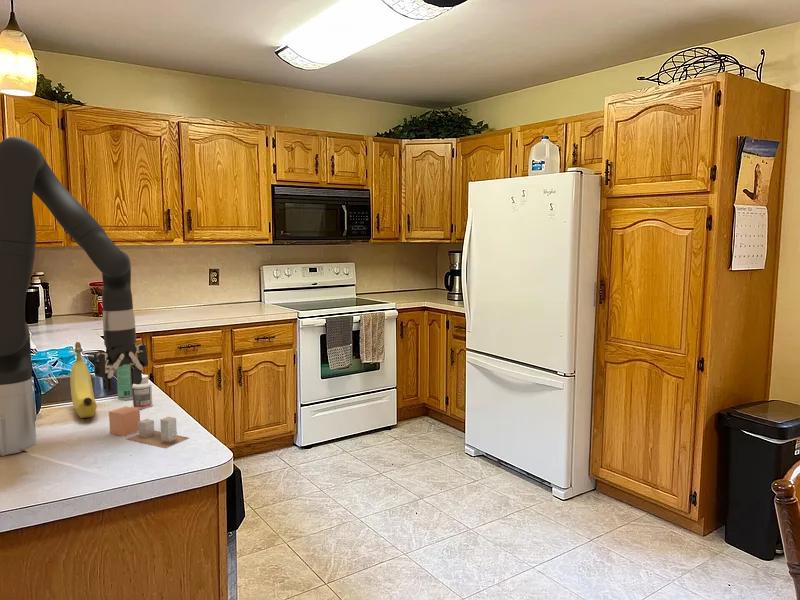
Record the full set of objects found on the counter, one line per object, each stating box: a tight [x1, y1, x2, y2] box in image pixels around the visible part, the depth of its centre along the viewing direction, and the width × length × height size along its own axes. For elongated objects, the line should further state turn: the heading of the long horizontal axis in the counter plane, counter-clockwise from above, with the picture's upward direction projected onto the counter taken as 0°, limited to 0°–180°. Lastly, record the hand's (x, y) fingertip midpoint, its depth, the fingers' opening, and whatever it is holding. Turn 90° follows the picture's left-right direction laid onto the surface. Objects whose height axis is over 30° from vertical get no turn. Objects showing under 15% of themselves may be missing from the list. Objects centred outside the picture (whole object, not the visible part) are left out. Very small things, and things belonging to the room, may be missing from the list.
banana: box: [69, 341, 97, 419], centre depth 170 cm, size 23×6×20 cm, turn 34°
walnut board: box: [125, 429, 190, 449], centre depth 149 cm, size 8×14×1 cm, turn 64°
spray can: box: [116, 354, 136, 401], centre depth 187 cm, size 6×6×20 cm
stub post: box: [138, 418, 155, 438], centre depth 150 cm, size 3×3×4 cm
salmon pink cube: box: [108, 405, 141, 437], centre depth 154 cm, size 5×5×7 cm
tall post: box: [159, 416, 178, 443], centre depth 146 cm, size 3×3×6 cm
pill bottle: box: [132, 374, 153, 410], centre depth 177 cm, size 5×5×10 cm
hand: (123, 387), depth 153 cm, fingers open, 8 cm apart
